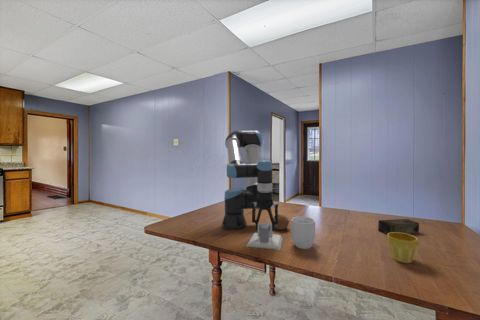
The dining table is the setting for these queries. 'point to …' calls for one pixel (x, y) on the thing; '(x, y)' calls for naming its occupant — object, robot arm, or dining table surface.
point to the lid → (265, 238)
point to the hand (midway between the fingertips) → (265, 236)
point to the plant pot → (402, 246)
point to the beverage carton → (398, 226)
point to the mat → (265, 247)
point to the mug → (303, 231)
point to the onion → (281, 222)
